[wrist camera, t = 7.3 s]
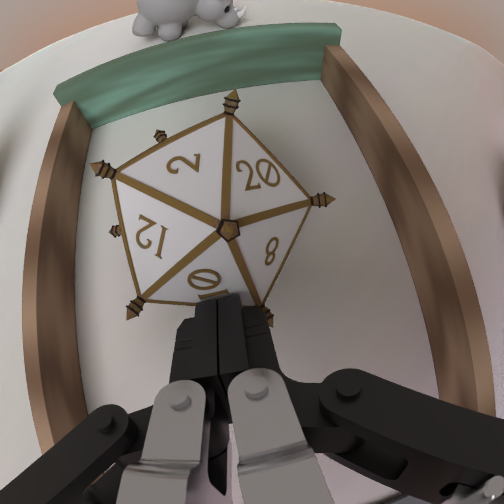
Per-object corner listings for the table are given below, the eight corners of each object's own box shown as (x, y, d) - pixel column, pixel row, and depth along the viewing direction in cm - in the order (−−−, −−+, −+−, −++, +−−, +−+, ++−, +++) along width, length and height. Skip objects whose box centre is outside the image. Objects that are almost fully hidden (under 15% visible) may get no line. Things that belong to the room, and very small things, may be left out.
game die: (232, 243, 19) (276, 91, 13) (306, 346, 14) (412, 154, 8) (93, 258, 14) (98, 70, 9) (122, 400, 9) (92, 96, 3)
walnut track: (450, 552, 6) (481, 577, 1) (157, 604, 6) (137, 637, 1) (328, 71, 20) (335, 23, 15) (82, 124, 20) (57, 85, 15)
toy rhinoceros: (227, 60, 25) (253, -3, 18) (122, 41, 22) (129, -23, 14) (236, 33, 28) (260, -20, 20) (146, 15, 24) (156, -39, 17)
